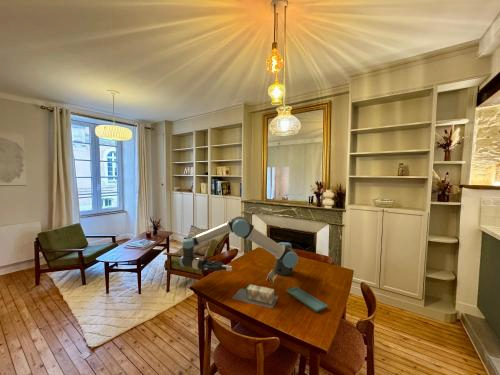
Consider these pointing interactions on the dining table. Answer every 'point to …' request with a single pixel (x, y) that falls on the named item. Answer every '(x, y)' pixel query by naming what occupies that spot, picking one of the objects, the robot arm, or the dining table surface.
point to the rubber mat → (242, 297)
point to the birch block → (260, 293)
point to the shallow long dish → (307, 299)
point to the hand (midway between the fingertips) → (231, 268)
